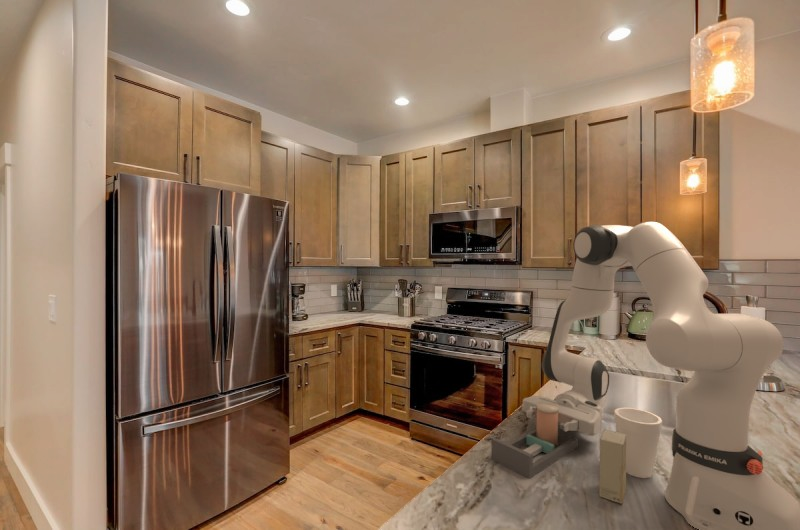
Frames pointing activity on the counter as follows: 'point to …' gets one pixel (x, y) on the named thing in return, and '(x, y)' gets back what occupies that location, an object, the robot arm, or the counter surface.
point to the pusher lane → (527, 455)
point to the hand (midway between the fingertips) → (545, 421)
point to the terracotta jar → (547, 422)
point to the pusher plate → (537, 445)
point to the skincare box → (612, 466)
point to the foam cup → (639, 439)
